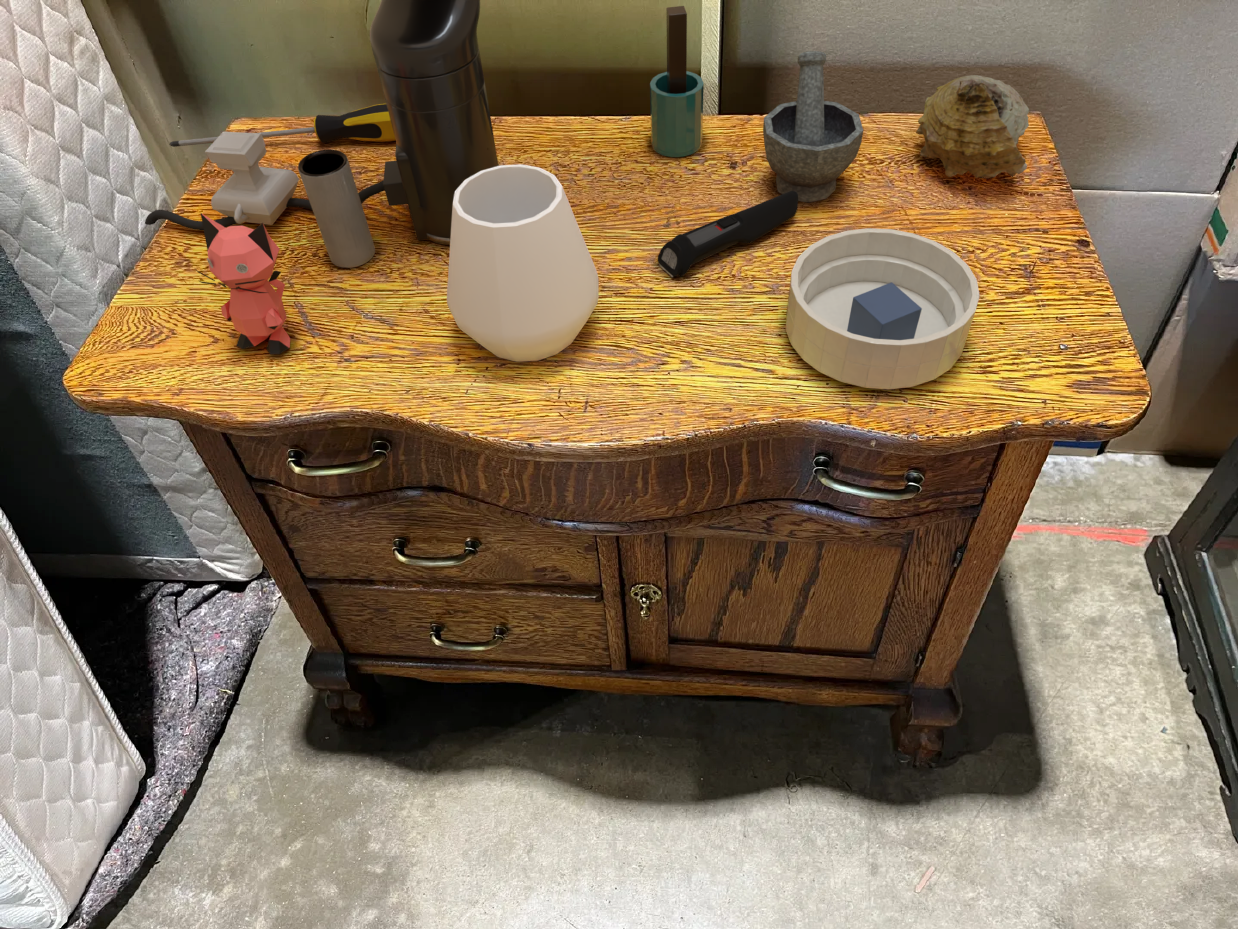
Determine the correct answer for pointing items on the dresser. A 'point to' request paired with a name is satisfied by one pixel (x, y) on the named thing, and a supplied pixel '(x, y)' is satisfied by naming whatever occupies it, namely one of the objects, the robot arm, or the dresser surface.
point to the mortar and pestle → (811, 136)
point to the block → (884, 314)
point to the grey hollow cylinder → (337, 207)
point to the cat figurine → (248, 282)
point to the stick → (676, 49)
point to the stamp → (249, 180)
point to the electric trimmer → (726, 233)
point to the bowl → (867, 264)
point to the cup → (518, 264)
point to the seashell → (975, 127)
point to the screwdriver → (334, 127)
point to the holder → (676, 116)
